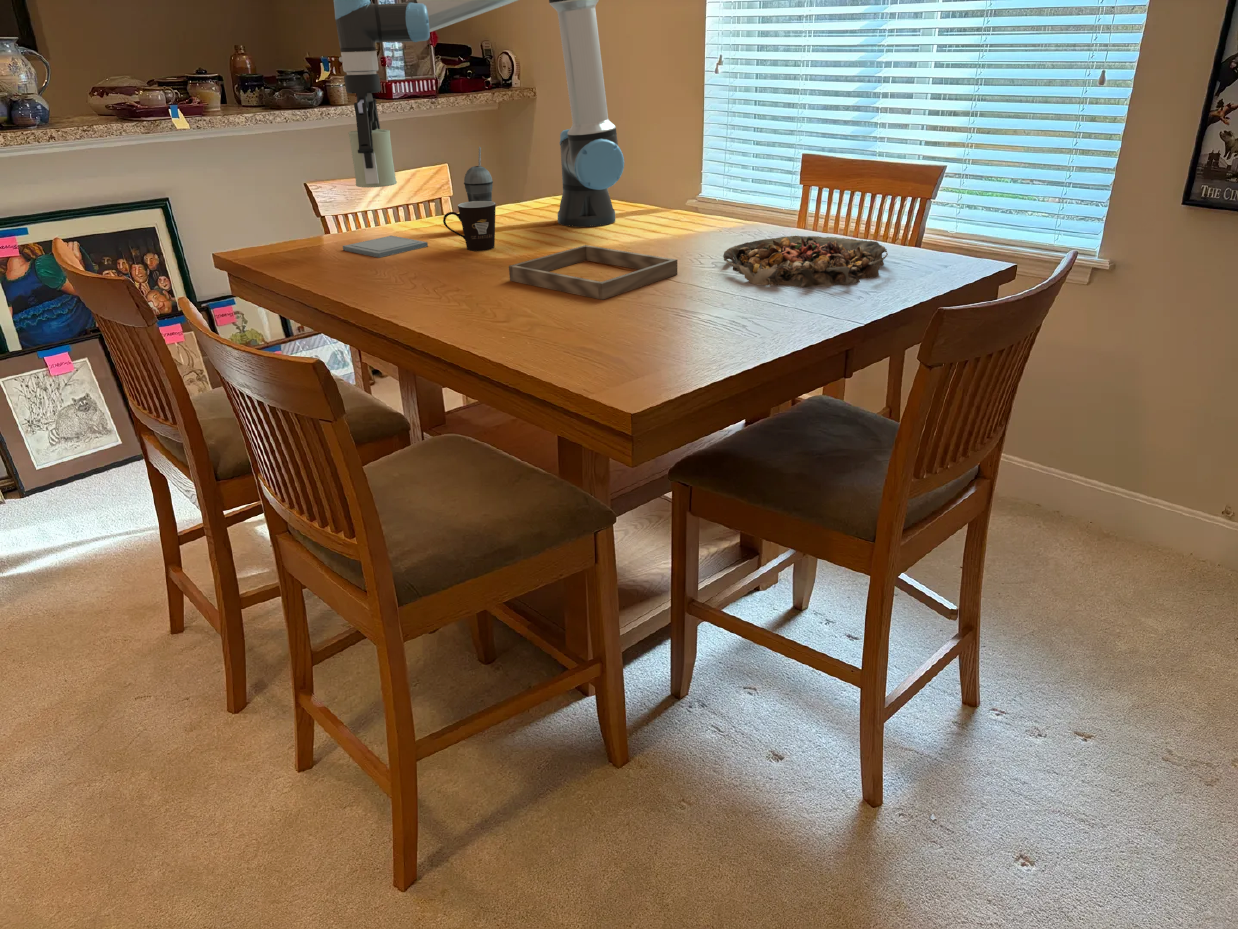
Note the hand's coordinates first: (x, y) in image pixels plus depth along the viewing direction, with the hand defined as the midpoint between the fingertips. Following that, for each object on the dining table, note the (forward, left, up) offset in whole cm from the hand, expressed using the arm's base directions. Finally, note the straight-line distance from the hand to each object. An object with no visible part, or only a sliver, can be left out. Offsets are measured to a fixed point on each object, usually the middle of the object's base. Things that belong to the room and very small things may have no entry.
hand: (376, 179), depth 206 cm
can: (0, 0, -1) cm, 1 cm away
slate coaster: (0, 0, -16) cm, 16 cm away
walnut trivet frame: (-60, -7, -16) cm, 63 cm away
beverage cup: (-3, -28, -16) cm, 32 cm away
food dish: (-91, -38, -16) cm, 100 cm away
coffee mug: (-18, -12, -16) cm, 27 cm away
